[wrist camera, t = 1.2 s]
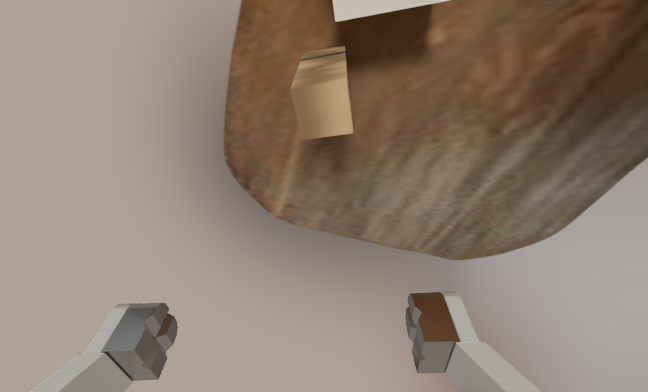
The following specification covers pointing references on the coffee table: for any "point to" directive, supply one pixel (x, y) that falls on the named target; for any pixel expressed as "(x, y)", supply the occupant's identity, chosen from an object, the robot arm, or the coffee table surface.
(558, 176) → the coffee table surface
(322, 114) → the oak peg
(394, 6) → the socket board
